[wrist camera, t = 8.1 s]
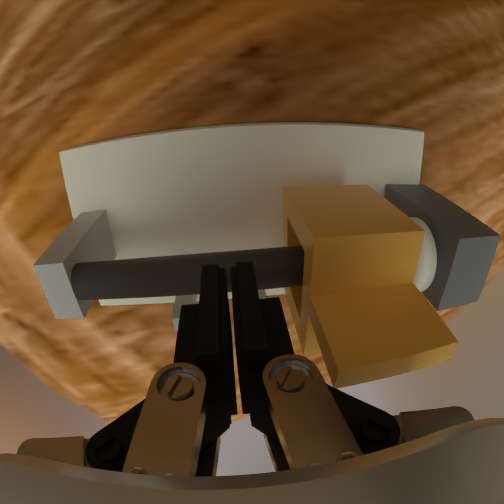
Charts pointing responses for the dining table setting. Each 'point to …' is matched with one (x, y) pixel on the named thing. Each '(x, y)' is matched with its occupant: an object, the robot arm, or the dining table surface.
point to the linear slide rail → (238, 212)
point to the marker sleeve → (360, 285)
